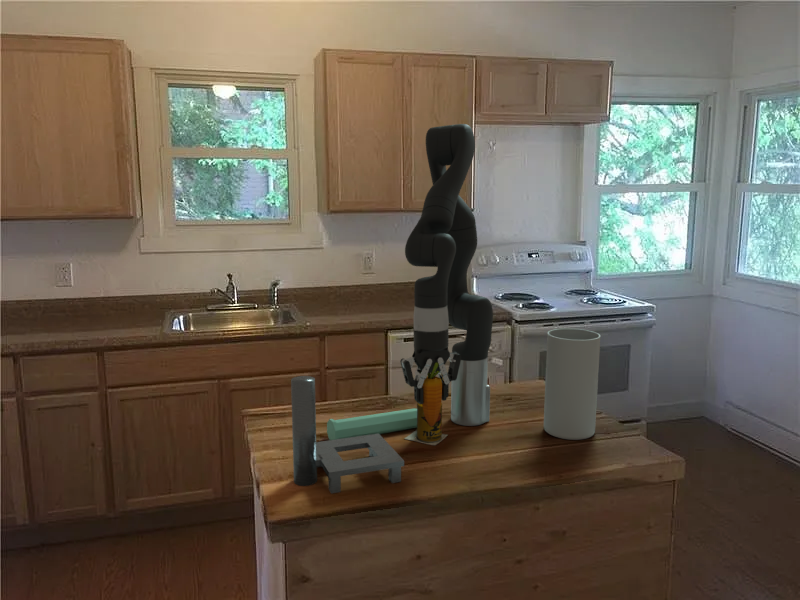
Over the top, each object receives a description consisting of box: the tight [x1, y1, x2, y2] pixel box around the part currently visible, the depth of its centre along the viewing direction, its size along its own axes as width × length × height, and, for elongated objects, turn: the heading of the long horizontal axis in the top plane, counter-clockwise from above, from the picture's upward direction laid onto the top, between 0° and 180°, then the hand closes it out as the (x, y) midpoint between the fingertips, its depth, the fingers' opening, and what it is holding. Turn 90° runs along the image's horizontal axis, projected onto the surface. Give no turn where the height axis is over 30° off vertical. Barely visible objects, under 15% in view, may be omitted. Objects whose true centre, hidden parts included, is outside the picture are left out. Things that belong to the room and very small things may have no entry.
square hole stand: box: [290, 375, 405, 495], centre depth 139 cm, size 21×16×22 cm
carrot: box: [422, 362, 443, 427], centre depth 146 cm, size 5×5×15 cm
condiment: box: [403, 402, 449, 446], centre depth 161 cm, size 7×8×12 cm
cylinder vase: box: [543, 328, 601, 441], centre depth 164 cm, size 12×12×25 cm
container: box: [326, 407, 417, 441], centre depth 165 cm, size 6×6×25 cm
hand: (431, 401), depth 146 cm, fingers closed on carrot, 5 cm apart
